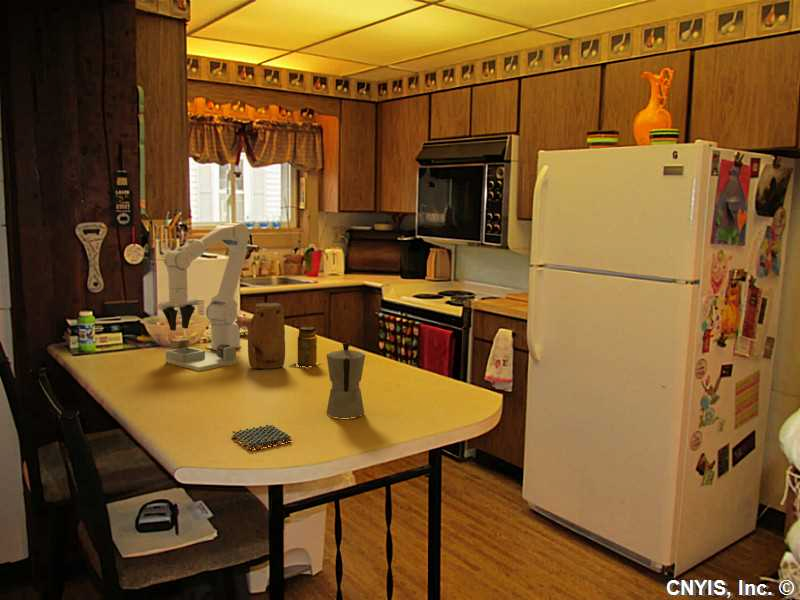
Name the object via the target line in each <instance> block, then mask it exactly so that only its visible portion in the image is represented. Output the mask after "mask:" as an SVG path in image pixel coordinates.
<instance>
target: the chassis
mask: <svg viewBox="0 0 800 600" xmlns="http://www.w3.org/2000/svg"><path fill="white" fill-rule="evenodd" d="M165 362H166V363H167V362H168V363H167V364H171V363H172V365H174V364H176V365H175V366H178V365H179V367H182V366H183V367H182V368H185V367H186V369H189V368H190V369H191V370H193V369H194V370H193V371H198V372H201V371H202V370H203V371H207V370H211V369H210V368H212V369H215V368H221V367H225V366H229V365H233V364H234V365H235V364H238V363H239V358H237V348H236V347H235V346H231V347H226V348H223V358H219V357H218V356H217V354H216V352H215V353H214V352H212V351H211V352H210V351H206V350H204V349H200V348H196V347H190V346H189V347H185V348H179V349H174V350H170V349H169V350H165ZM220 366H221V367H220ZM190 369H189V370H190ZM206 369H207V370H206ZM203 371H202V372H203Z"/></svg>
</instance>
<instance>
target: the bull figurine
mask: <svg viewBox="0 0 800 600" xmlns="http://www.w3.org/2000/svg"><path fill="white" fill-rule="evenodd" d="M242 313H243V312H241V311H239V312H237V316H236V323H237V324H238V326H239V330H240V331H241V329H242V330H243V331H244V330H245V331H248V327H249V325H250V323H251V320H252V317H247V316H246V314H245V313H243V314H242ZM246 337H247V338H248V335H247V336H246Z"/></svg>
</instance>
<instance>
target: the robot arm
mask: <svg viewBox="0 0 800 600" xmlns="http://www.w3.org/2000/svg"><path fill="white" fill-rule="evenodd" d="M250 236H251V232H250V231H249V228H248V226H247V225H246V224H244V223H242V222H241V223H236V222H235V223H230V222H221V223H219V224H217V225H216V226H215V227H214V229H212V230H210V232H208V233H207V234H205V235H203V237H201V238H200V239H196V238H195V239H194V238H190V239H188V240H187V243H186V244H183V245H182V246H177V249H176V250H169V251H168V252H167V253H166V255H165V257H164V259H163V263H164V265H165V266H166V268H167V269H166V272H167V273H168V301H162V302H158V303H156V309H157V310H158V311H159V310H160V311H162V313H163V314H164V316H165V318H166V320H167V323H168V326H169V329H170V331H172V332H173V331H174V332H175V331H176V330H177V316H178V312H179V311H180V316H181V326H182V327H181V328H182V329H186V330H187V329H189V325H190V321H191V318H192V315H193V314H194V311H195V310H196V309H195V306H199V305H200V299H199V298H191V299H190V298H189V296H188V268H190V265H191V264H192V262H193V261H195V260H196V259H198V258H199V257H201V256H203V254H205V251H206V249H207V248H209V247H211V246H213V245H214V244H217V243H218V242H220V241H221V242H222V243H223V244H224V245H225V247H227V248H228V250H229V254H228V259H227V262H226V265H225V269H224V273H223V275H222V279H221V282H220V286H219V289H218V292H217V294H216V295H215V296H213V297H212V298H211V300H210V302H209V304H208V305H207V307H206V309H205V316H206V318H207V319H208V320H209V323H210V344H211V345H207V346H205V349H209V350H213V351H216V350H217V347H218V346H219V345H220V344H227V345H230V346H235V347H236V349H237V348H242V345H241V344H240V342H241V341H240V339H241V337H240V336H241V335H240V334H241V333H240V331H241V329H240V330H239V326H238V324H237V321H236V320H237V313H238V304H239V303H238V302H237V301H236V300H235V294H236V291H237V289H238V288H237V287H238V284H239V280H240V277H241V273H242V269H243V267H244V263H245V260H246V256H247V253H248V241H249V239H250ZM188 298H189V299H188ZM175 308H179V310H178V309H175ZM235 321H236V322H235Z"/></svg>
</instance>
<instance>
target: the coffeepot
mask: <svg viewBox="0 0 800 600" xmlns="http://www.w3.org/2000/svg"><path fill="white" fill-rule="evenodd" d="M342 347H343V349H341V350H339V349H338V350H335V351H331V352H329V353H326V360H327V367H328V375H329V380H330V382H331V388H330V391H329V397H328V402H327V403H328V404H327V407H326V414H327V415H328V414H329V415H330V416H332V417H338V418H351V417H359V416H360V415H362V414H363V415H364V413H365V409H364V404H363V397H362V391H361V388H360V382H361V381H362V377H363V373H364V371H363V370H364V363H365V360H366V354H365V353H362V352H360V351H357V350H352V349H349V347H350V343H349V342H343V343H342ZM363 415H362V416H363ZM359 418H360V417H359Z"/></svg>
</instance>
